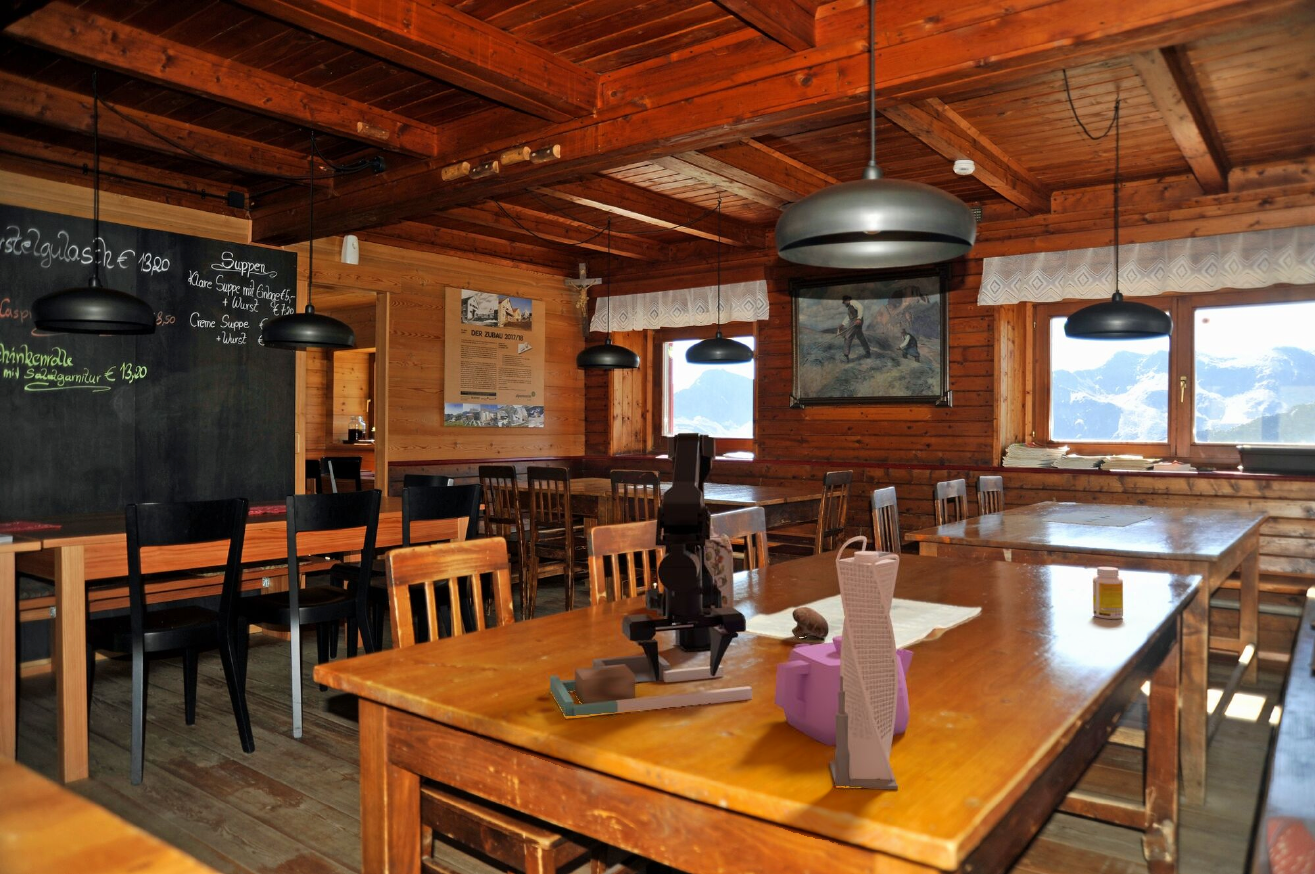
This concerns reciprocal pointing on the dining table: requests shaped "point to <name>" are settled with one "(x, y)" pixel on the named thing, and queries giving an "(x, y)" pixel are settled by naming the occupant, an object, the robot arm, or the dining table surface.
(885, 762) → the skyscraper
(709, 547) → the decorative jar
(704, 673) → the walled track with bay
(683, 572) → the robot arm
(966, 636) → the dining table surface
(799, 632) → the mushroom
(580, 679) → the block
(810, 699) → the teakettle
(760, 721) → the dining table surface
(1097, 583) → the supplement bottle
